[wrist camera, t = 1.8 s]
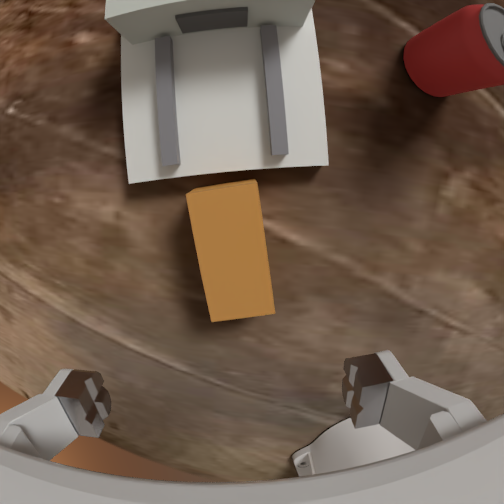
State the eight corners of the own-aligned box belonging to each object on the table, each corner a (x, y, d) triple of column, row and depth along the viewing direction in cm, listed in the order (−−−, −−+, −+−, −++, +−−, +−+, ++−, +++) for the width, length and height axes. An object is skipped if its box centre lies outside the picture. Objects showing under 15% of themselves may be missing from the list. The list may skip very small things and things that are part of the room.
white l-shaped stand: (322, 164, 26) (353, 167, 18) (136, 182, 26) (97, 192, 18) (304, -1, 22) (323, -46, 14) (129, 18, 21) (95, -19, 14)
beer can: (402, 91, 24) (484, 64, 13) (397, 30, 22) (467, -18, 11) (456, 104, 24) (541, 92, 13) (450, 46, 22) (526, 17, 11)
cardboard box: (270, 288, 29) (275, 313, 24) (216, 296, 29) (211, 322, 25) (254, 178, 26) (257, 182, 22) (196, 187, 27) (185, 194, 22)
